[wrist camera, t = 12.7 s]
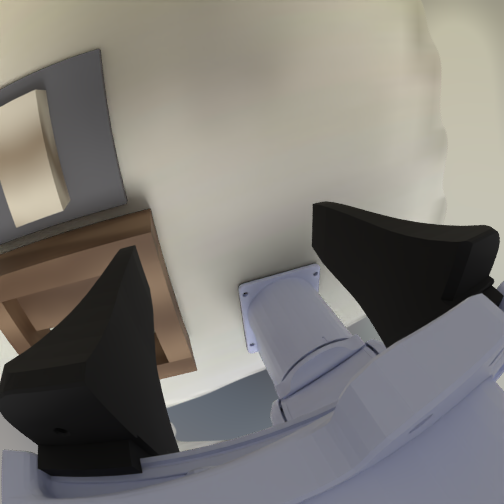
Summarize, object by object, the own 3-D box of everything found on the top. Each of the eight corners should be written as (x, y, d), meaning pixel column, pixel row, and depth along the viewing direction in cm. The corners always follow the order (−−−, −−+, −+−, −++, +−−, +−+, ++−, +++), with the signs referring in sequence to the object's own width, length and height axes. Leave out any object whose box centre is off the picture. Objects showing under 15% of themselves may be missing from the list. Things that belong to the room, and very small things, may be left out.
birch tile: (70, 200, 17) (63, 210, 15) (26, 216, 16) (16, 227, 14) (46, 90, 12) (35, 89, 11) (-1, 112, 12) (-15, 115, 10)
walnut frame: (189, 338, 27) (197, 370, 24) (59, 366, 24) (55, 396, 20) (150, 208, 20) (151, 232, 16) (-9, 257, 16) (-27, 285, 13)
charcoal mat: (127, 200, 19) (126, 203, 18) (-2, 242, 16) (-5, 246, 16) (100, 50, 13) (98, 48, 13) (-37, 114, 10) (-41, 115, 10)
